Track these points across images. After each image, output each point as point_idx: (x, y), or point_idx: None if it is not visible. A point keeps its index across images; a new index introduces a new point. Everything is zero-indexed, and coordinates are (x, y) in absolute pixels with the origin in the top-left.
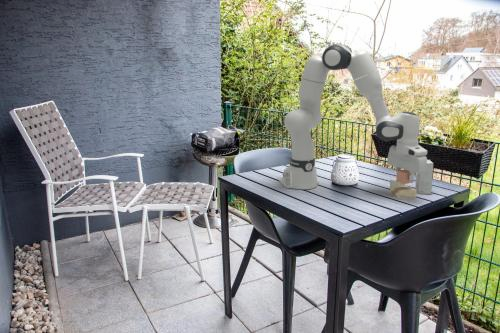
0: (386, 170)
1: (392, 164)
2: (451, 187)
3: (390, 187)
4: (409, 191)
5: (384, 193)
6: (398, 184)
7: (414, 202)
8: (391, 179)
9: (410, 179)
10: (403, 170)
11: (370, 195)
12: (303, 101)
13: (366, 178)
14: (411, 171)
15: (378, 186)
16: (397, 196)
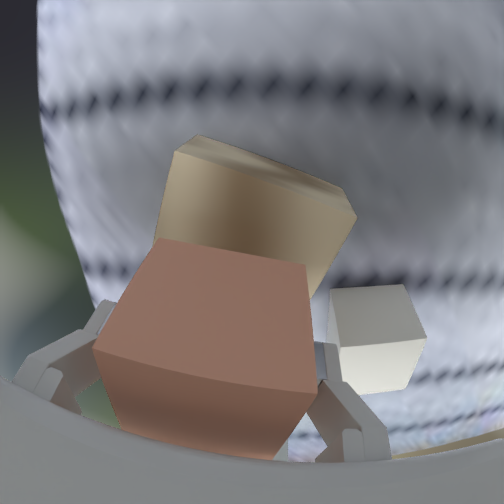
0: (473, 428)
1: (449, 470)
2: None
3: (400, 293)
4: (156, 235)
5: (382, 168)
6: (345, 325)
7: (102, 169)
8: (417, 343)
9: (101, 312)
10: (246, 437)
11: (422, 38)
12: None
13: None
14: (24, 387)
15: (474, 275)
16: (235, 150)
